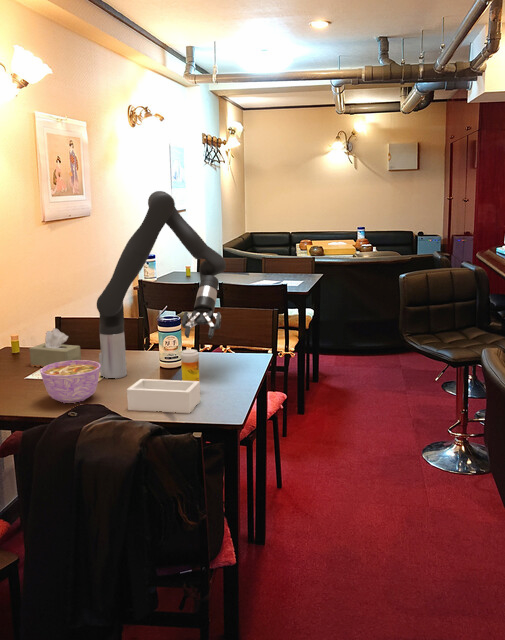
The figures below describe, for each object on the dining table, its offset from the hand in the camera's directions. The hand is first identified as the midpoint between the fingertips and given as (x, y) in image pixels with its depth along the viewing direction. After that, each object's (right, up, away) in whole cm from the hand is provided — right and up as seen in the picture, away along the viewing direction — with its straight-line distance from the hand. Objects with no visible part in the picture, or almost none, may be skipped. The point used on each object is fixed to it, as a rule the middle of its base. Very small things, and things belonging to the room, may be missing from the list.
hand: (198, 337), depth 232 cm
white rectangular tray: (-9, -22, -20) cm, 32 cm away
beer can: (-2, -20, -7) cm, 21 cm away
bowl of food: (-42, -22, -12) cm, 49 cm away
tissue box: (-62, -13, +33) cm, 71 cm away
